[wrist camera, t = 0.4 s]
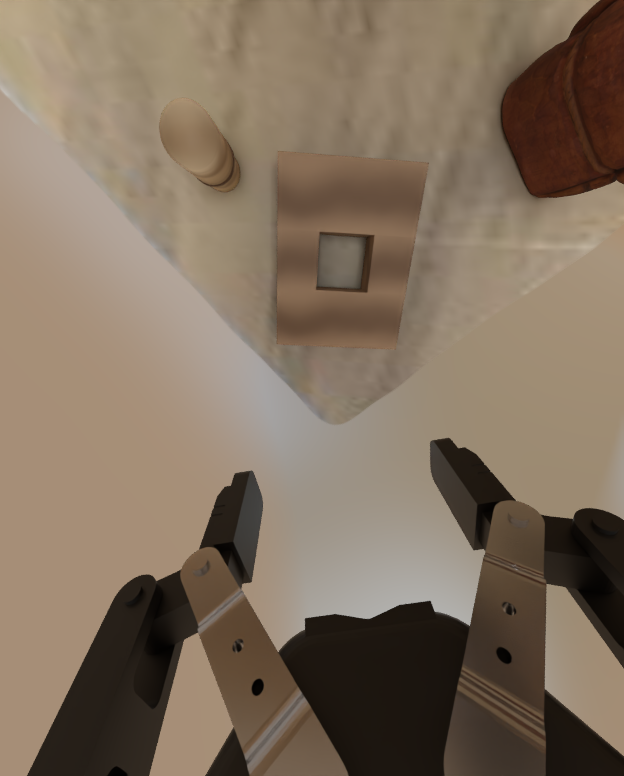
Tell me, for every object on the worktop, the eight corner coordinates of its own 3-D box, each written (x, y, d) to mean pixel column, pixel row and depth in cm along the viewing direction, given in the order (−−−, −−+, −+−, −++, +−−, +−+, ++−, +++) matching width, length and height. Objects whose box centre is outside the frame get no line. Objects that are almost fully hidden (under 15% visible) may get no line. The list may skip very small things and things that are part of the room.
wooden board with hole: (280, 163, 30) (277, 151, 26) (413, 173, 31) (428, 162, 27) (279, 335, 37) (276, 344, 34) (386, 340, 38) (395, 349, 34)
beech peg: (200, 144, 29) (154, 94, 20) (241, 148, 29) (214, 99, 20) (204, 193, 31) (163, 167, 22) (243, 196, 31) (219, 171, 22)
